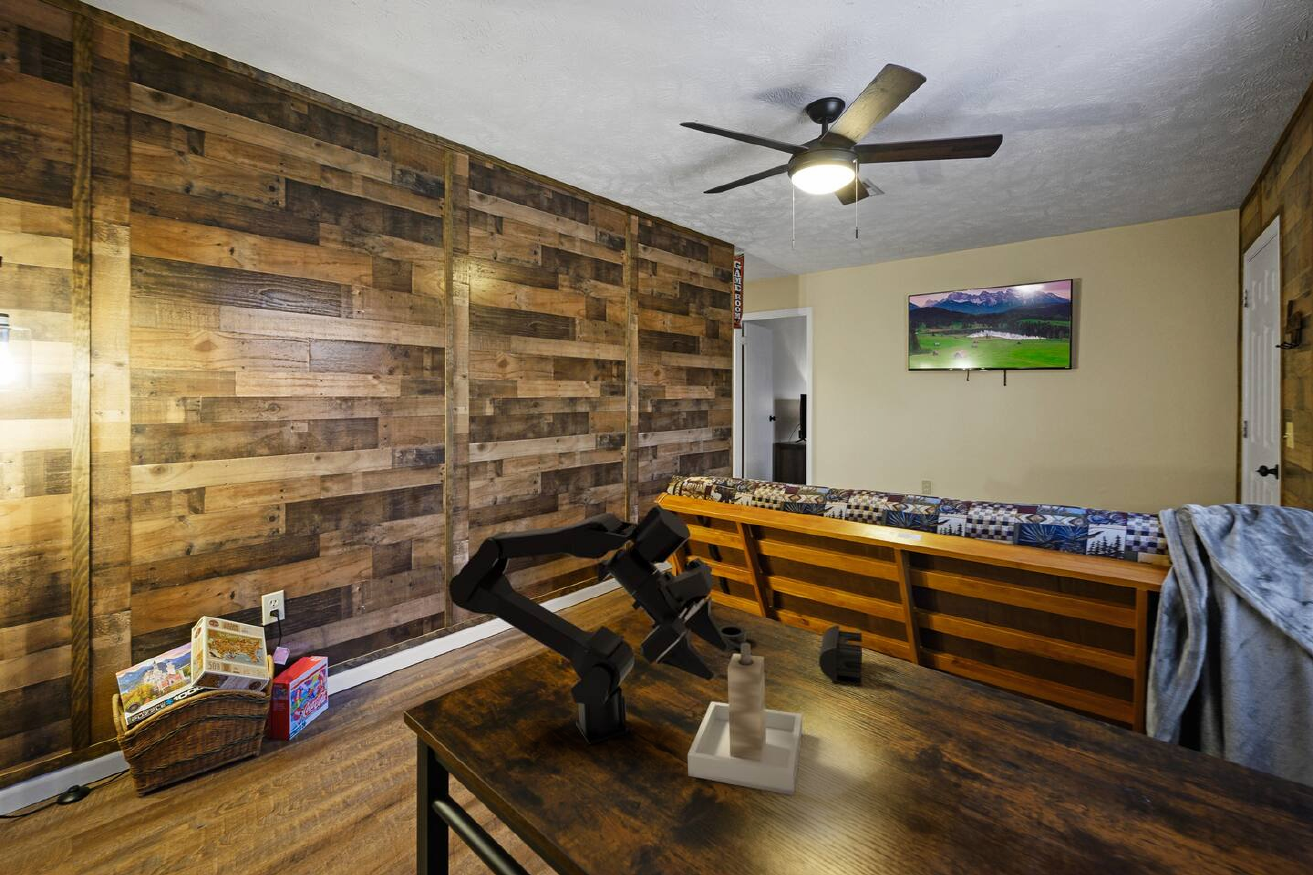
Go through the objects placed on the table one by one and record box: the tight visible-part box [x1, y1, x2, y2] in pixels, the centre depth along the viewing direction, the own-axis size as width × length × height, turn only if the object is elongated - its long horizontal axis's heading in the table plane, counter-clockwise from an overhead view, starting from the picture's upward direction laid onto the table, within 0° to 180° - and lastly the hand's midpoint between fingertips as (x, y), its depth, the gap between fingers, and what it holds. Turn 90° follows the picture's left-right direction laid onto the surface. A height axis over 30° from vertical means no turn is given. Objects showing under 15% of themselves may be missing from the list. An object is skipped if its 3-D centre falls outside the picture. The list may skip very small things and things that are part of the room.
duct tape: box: [718, 624, 747, 651], centre depth 118 cm, size 8×10×3 cm
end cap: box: [818, 625, 863, 687], centre depth 105 cm, size 10×7×7 cm
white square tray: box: [687, 701, 803, 796], centre depth 82 cm, size 14×14×3 cm
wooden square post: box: [727, 642, 766, 761], centre depth 82 cm, size 4×4×16 cm
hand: (719, 662), depth 82 cm, fingers open, 9 cm apart
